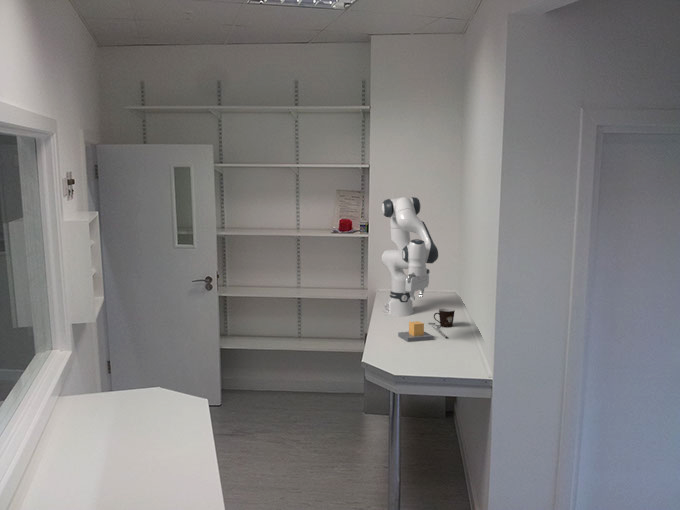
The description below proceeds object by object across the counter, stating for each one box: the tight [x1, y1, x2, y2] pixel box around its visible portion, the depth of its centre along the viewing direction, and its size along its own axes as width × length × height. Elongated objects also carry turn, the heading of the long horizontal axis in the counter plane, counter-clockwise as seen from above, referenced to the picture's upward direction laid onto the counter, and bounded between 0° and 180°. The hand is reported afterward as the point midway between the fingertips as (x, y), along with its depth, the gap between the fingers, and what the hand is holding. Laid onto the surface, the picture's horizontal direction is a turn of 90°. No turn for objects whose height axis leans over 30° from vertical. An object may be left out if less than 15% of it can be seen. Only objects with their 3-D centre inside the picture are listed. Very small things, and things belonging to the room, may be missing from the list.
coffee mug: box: [433, 307, 456, 328], centre depth 325 cm, size 12×9×10 cm
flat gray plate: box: [397, 331, 434, 343], centre depth 301 cm, size 12×14×6 cm
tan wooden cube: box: [408, 320, 425, 336], centre depth 301 cm, size 6×6×6 cm
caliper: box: [428, 322, 449, 339], centre depth 315 cm, size 29×2×5 cm
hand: (416, 298), depth 300 cm, fingers open, 8 cm apart
